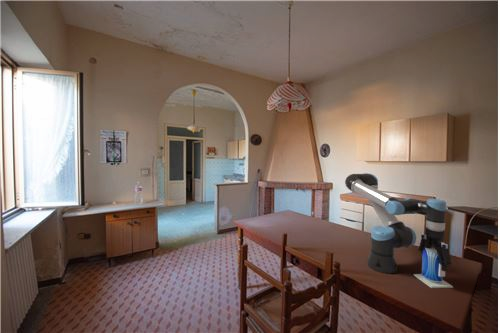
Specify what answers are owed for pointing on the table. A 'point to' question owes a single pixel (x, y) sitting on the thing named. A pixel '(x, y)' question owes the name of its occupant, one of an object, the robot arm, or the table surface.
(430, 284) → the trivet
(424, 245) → the robot arm
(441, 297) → the table surface
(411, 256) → the table surface
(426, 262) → the beer can
